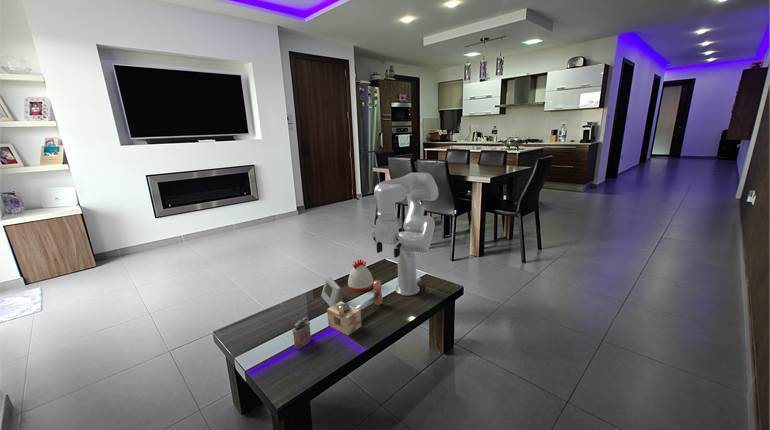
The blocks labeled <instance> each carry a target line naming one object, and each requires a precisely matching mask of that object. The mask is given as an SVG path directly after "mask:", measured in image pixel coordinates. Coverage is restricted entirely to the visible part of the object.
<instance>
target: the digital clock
mask: <svg viewBox="0 0 770 430" xmlns="http://www.w3.org/2000/svg"><path fill="white" fill-rule="evenodd" d="M341 292H342V288H341V286H340V285H339V284H338V283H337V282H336V281H335V280H334V279H333V278H332V277H330V276H327V277H325V279H324V285H323V289H322V291H321V298H322V299H323V300H324V301H325V303H326V304H327V305H328V306H329V308H330V307H331V306H333V305H335V304H337V303H339V302H340V301H341V302H344V298H343V294H342V293H341Z"/></svg>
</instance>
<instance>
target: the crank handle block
mask: <svg viewBox="0 0 770 430" xmlns="http://www.w3.org/2000/svg"><path fill="white" fill-rule="evenodd" d="M349 305H350V304H349V303H346V304H340V305H338V307H337V308H338V311H339V316H340V317H343V316H344V312H345V311H348V310H349Z"/></svg>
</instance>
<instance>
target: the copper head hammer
mask: <svg viewBox="0 0 770 430" xmlns="http://www.w3.org/2000/svg"><path fill="white" fill-rule="evenodd" d="M373 284H374V285H373V296H372V297H371V298H369V299H367V300H366V301H364V302H362V303H360V304H359V305H357V306H355V308H358V309H360V311H363V310H364V309H366V308H368V307H369V306H371V305H372V304H374V305H376V306H380V305H382V304H383V294H382V293H383V292H382V281H381V280H380V279H375V280H373Z"/></svg>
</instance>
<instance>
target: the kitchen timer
mask: <svg viewBox="0 0 770 430" xmlns="http://www.w3.org/2000/svg"><path fill="white" fill-rule="evenodd" d="M366 264H367V261H365V260H362V259H357V261H356V260H355V261H354V264H353V263H352V266H353V268H352V269H351V271H350V273H349V276H348V279H347V286H348V289H349V290H350V291H354V292H365V291H369V290H371V289H372V288H374V284H373V281H374V277H373V275H372V273H371V271H370V270H369V269H368V267H367V265H366Z"/></svg>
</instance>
